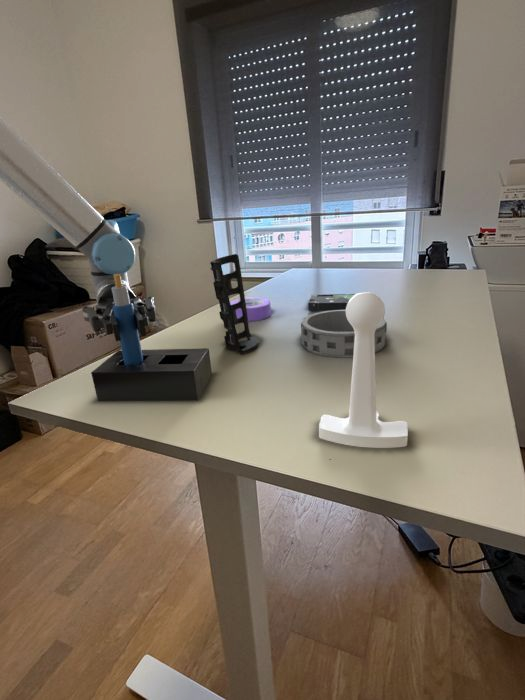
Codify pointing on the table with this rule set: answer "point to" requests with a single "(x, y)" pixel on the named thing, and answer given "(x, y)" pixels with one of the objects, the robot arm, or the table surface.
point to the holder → (229, 311)
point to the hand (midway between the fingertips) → (129, 330)
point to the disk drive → (329, 302)
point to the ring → (334, 334)
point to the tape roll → (255, 308)
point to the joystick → (364, 386)
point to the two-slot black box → (154, 376)
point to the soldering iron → (126, 324)
